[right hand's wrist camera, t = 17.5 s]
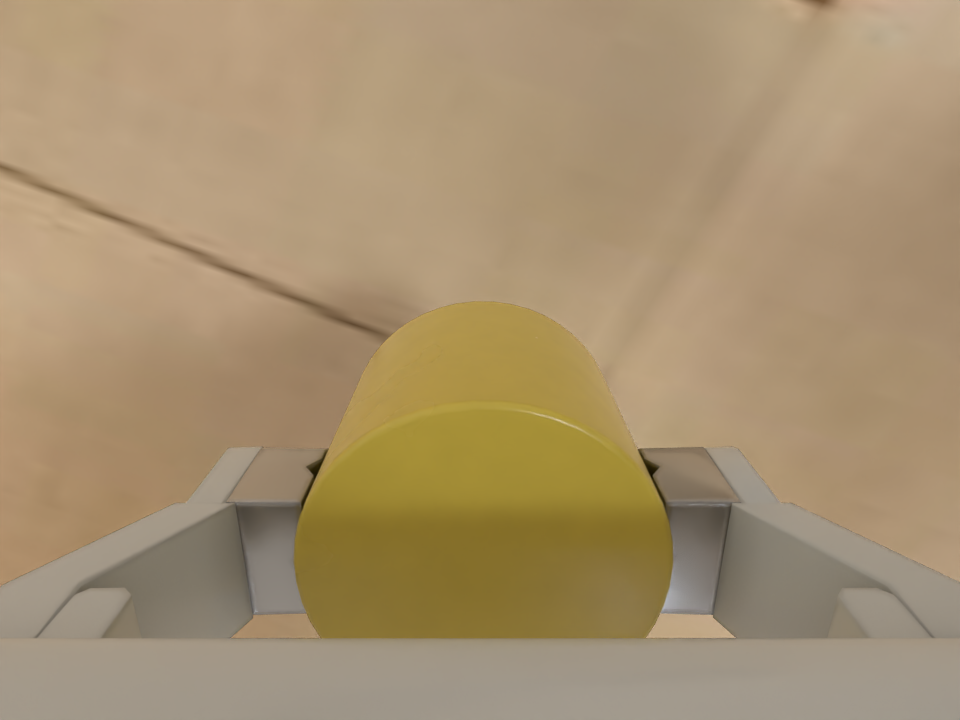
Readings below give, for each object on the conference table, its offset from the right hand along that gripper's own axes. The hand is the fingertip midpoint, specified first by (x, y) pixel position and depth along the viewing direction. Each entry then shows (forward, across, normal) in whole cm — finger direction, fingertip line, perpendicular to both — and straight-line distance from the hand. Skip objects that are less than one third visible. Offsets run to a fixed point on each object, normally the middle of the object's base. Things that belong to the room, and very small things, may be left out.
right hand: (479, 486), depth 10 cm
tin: (+2, 0, 0) cm, 2 cm away
